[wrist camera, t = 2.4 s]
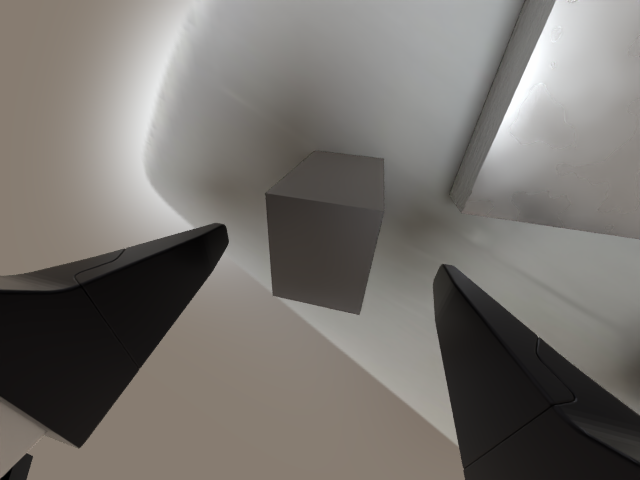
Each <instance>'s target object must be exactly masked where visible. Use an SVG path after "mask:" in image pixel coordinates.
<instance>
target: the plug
mask: <svg viewBox="0 0 640 480" xmlns="http://www.w3.org/2000/svg"><path fill="white" fill-rule="evenodd" d="M265 195H266V208H267V222H268V236H269V250H270V263H271V277H272V291H273V296H277V297H281V298H286V299H290V300H295V301H299V302H304V303H308V304H313V305H317V306H322V307H326V308H330V309H335V310H339V311H344V312H348V313H353V314H357V315H360V311H361V307H362V302H363V298H364V294H365V290H366V286H367V281H368V277H369V273H370V269H371V265H372V260H373V256H374V252H375V248H376V243H377V239H378V235H379V231H380V227H381V222H382V218H383V214H384V159H382V158H373V157H365V156H356V155H348V154H339V153H331V152H322V151H314V152H313V153H312V154H310V155H309V156H308V157H307V158H306V159H305V160H303V161H302V162H301V163H300V164H299V165H298V166H296V167H295V168H294V169H293V170H292V171H291V172H289V173H288V174H287V175H286V176H285V177H284V178H282V179H281V180H280V181H279V182H278V183H277V184H275V185H274V186H273V187H272V188H271V189H270V190H268V191H267V192H266V193H265Z"/></svg>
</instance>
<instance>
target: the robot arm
mask: <svg viewBox="0 0 640 480" xmlns="http://www.w3.org/2000/svg"><path fill="white" fill-rule="evenodd" d="M228 243H229V239H228V233H227V228H226V226H225V225H224V224H219V223H214V224H210V225H206V226H203V227H199V228H196V229H192V230H189V231H185V232H182V233H178V234H175V235H171V236H168V237H164V238H161V239H157V240H153V241H150V242H146V243H143V244H139V245H136V246H132V247H128V248H126V249H121V250H118V251H114V252H111V253H107V254H103V255H99V256H96V257H92V258H88V259H84V260H80V261H75V262H71V263H67V264H63V265H59V266H55V267H50V268H46V269H42V270H38V271H34V272H29V273H24V274H18V275H9V276H0V480H26V479H27V475H28V472H29V469H30V465H31V462H32V458H33V456H31V455H29V454H27V452H28V451H29V450H30V449H31V448H32V447H33V446H34V445H35V444H36V443H37V442H38V441H39V440H40V439H41V438H42V437H43V436H44V435H45V436H48V437H51V438H53V439H55V440H58V441H61V442H63V443H66V444H68V445H71V446H73V447H76V448H80V447H81V446H82V445H83V444H84V443H85V442H86V440H87V439H88V438H89V437H90V435H91V434H92V432H93V431H94V430H95V428H96V427H97V425H98V424H99V423H100V422H101V420H102V419H103V418H104V416H105V415H106V414H107V412H108V411H109V410H110V408H111V407H112V405H113V404H114V403H115V402H116V400H117V399H118V397H119V396H120V395H121V394H122V392H123V391H124V390H125V388H126V387H127V385H128V384H129V383H130V382H131V380H132V379H133V377H134V376H135V375H136V373H137V372H138V371H139V369H140V368H141V367H142V365H143V364H144V363H145V361H146V360H147V358H148V357H149V356H150V355H151V353H152V352H153V351H154V349H155V348H156V347H157V345H158V344H159V342H160V341H161V340H162V339H163V337H164V336H165V334H166V333H167V332H168V330H169V329H170V328H171V326H172V325H173V324H174V322H175V321H176V320H177V318H178V317H179V316H180V314H181V313H182V312H183V310H184V309H185V308H186V306H187V305H188V304H189V302H190V301H191V300H192V298H193V297H194V296H195V294H196V293H197V292H198V290H199V289H200V288H201V286H202V285H203V284H204V282H205V281H206V280H207V278H208V277H209V276H210V274H211V273H212V271H213V270H214V268H215V266H216V265H217V263H218V261H219V260H220V258H221V256H222V255H223V253H224V251H225V249H226V248H227V246H228ZM433 294H434V311H435V322H436V328H437V334H438V339H439V344H440V349H441V355H442V360H443V365H444V370H445V376H446V381H447V386H448V391H449V397H450V402H451V407H452V412H453V418H454V423H455V428H456V433H457V439H458V444H459V449H460V454H461V460H462V464H463V468H464V476H465V480H640V415H638V414H637V413H636V412H634V411H633V410H632V409H630V408H629V407H628V406H626V405H625V404H624V403H622V402H621V401H620V400H618V399H617V398H616V397H614V396H613V395H612V394H610V393H609V392H608V391H606V390H605V389H604V388H602V387H601V386H600V385H598V384H597V383H596V382H595V381H593V380H592V379H591V378H589V377H588V376H587V375H585V374H584V373H583V372H582V371H580V370H579V369H578V368H576V367H575V366H574V365H572V364H571V363H570V362H569V361H567V360H566V359H565V358H564V357H563V356H561V355H560V354H559V353H558V352H556V351H555V350H554V349H553V348H552V347H550V346H549V345H548V344H547V343H546V342H544V341H543V340H542V339H541V338H538V336H537V335H536V334H535V333H534V332H532V331H531V330H530V329H529V328H528V327H526V326H525V325H524V324H523V323H522V322H520V321H519V320H518V319H517V318H516V317H514V316H513V315H512V314H511V313H510V312H508V311H507V310H506V309H505V308H504V307H502V306H501V305H500V304H499V303H498V302H496V301H495V300H494V299H493V298H492V297H490V296H489V295H488V294H487V293H486V292H484V291H483V290H482V289H481V288H480V287H478V286H477V285H476V284H475V283H474V282H472V281H471V280H470V279H469V278H468V277H466V276H465V275H464V274H463V273H462V272H461V271H459V270H458V269H457V268H456V267H454V266H452V265H446V264H442V265H441V266H440V268H439V270H438V272H437V274H436V276H435V279H434V282H433Z"/></svg>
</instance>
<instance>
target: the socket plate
mask: <svg viewBox="0 0 640 480" xmlns="http://www.w3.org/2000/svg"><path fill="white" fill-rule="evenodd" d="M449 195H450V196H451V198H452V199H453V201H454V202H455V204H456V205H457V207H458V208H459V210H460V212H461V213H464V214H471V215H478V216H485V217H491V218H498V219H505V220H512V221H519V222H526V223H532V224H539V225H546V226H553V227H560V228H567V229H574V230H580V231H587V232H594V233H601V234H608V235H615V236H621V237H628V238H635V239H640V0H525V3H524V5H523V8H522V10H521V13H520V15H519V18H518V21H517V23H516V26H515V28H514V31H513V33H512V36H511V38H510V41H509V43H508V46H507V49H506V51H505V54H504V56H503V59H502V61H501V64H500V66H499V69H498V72H497V74H496V77H495V79H494V82H493V84H492V87H491V89H490V92H489V94H488V97H487V100H486V102H485V105H484V107H483V110H482V112H481V115H480V117H479V120H478V123H477V125H476V128H475V130H474V133H473V135H472V138H471V140H470V143H469V145H468V148H467V151H466V153H465V156H464V158H463V161H462V163H461V166H460V168H459V171H458V174H457V176H456V179H455V181H454V184H453V186H452V189H451V191H450V194H449Z"/></svg>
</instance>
